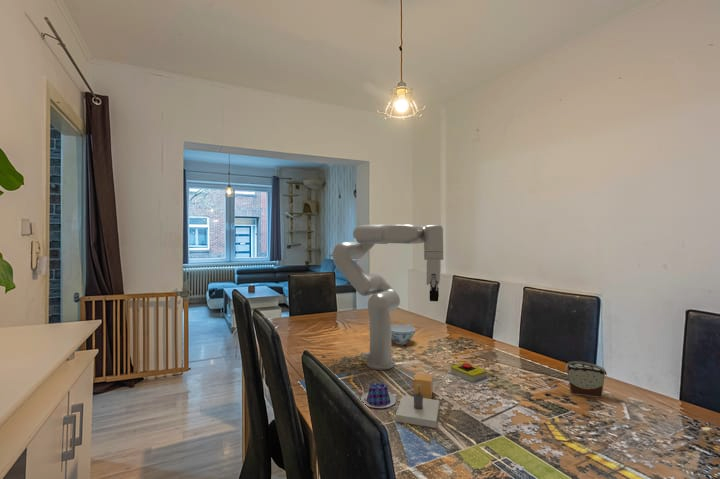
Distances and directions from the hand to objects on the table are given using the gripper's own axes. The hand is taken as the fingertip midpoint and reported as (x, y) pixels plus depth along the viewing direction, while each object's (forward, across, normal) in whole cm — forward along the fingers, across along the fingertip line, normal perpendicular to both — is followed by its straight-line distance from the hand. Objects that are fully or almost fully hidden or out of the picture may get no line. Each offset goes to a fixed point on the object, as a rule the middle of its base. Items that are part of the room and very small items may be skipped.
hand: (434, 299), depth 131 cm
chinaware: (+31, -42, -19) cm, 55 cm away
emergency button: (+32, -6, +13) cm, 35 cm away
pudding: (+32, +24, -18) cm, 44 cm away
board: (+31, +29, -4) cm, 43 cm away
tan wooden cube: (+31, +15, -4) cm, 35 cm away
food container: (+32, -1, +52) cm, 61 cm away
